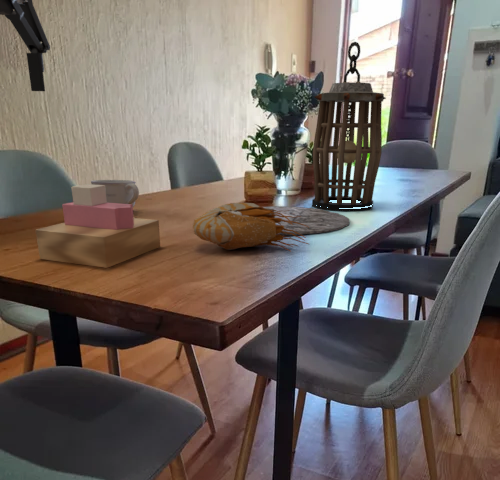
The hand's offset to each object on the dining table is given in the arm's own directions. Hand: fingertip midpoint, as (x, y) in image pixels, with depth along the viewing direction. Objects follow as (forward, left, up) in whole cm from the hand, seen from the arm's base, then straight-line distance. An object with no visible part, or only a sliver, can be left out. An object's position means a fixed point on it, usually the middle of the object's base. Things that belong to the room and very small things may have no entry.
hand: (10, 89), depth 93 cm
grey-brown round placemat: (+39, +37, -27) cm, 61 cm away
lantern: (+48, +64, -27) cm, 85 cm away
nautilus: (+44, +8, -27) cm, 53 cm away
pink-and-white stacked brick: (+21, -6, -22) cm, 31 cm away
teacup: (-1, +29, -27) cm, 40 cm away
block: (+21, -6, -27) cm, 35 cm away
